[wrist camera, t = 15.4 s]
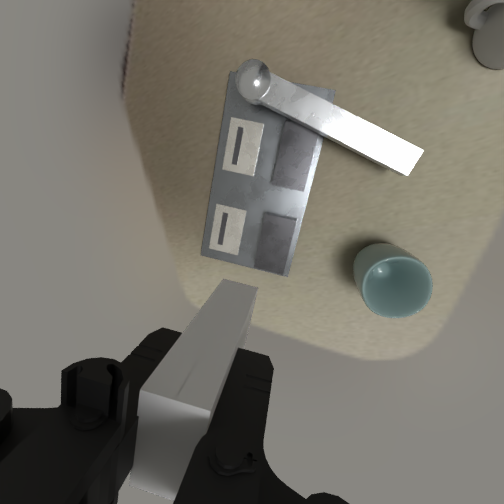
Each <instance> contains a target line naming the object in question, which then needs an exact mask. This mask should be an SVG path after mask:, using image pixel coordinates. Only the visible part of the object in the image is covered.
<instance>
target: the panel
mask: <svg viewBox="0 0 504 504" xmlns="http://www.w3.org/2000/svg"><path fill="white" fill-rule="evenodd" d="M236 73H237V72H232V71H230V76H229V82H228V88H227V95H226V101H225V107H224V113H223V119H222V126H221V132H220V138H219V144H218V150H217V157H216V163H215V169H214V175H213V182H212V188H211V194H210V200H209V206H208V213H207V219H206V225H205V231H204V238H203V244H202V250H201V255H202V256H206V257H210V258H214V259H218V260H222V261H226V262H230V263H234V264H238V265H242V266H246V267H250V268H254V269H258V270H262V271H266V272H270V273H274V274H278V275H282V276H286V277H288V274H289V270H290V266H291V262H292V258H293V254H294V250H295V247H296V243H297V239H298V235H299V231H300V227H301V223H302V219H303V215H304V212H305V208H306V204H307V200H308V196H309V192H310V188H311V184H312V180H313V177H314V173H315V169H316V165H317V161H318V157H319V153H320V149H321V146H322V142H323V138H324V136H322V135H320V134H318V133H316V132H314V131H312V130H310V129H308V128H307V127H305V126H303V125H301V124H299V123H297V122H295V121H293V120H291V119H289V118H287V117H285V116H283V115H281V114H279V113H277V112H275V111H273V110H271V109H269V108H267V107H265V106H264V105H262V104H258V105H253V104H250V103H248V102H247V101H246V100H245V99H244V98H243V97H242V95H241V94H240V93H239V91H238V90H237V87H236V83H235V77H236ZM290 83H292V84H294V85H296V86H298V87H300V88H302V89H304V90H306V91H308V92H310V93H312V94H314V95H316V96H318V97H320V98H322V99H324V100H326V101H328V102H330V103H333V99H334V95H335V91H336V90H331V89H326V88H320V87H315V86H309V85H304V84H298V83H293V82H290Z"/></svg>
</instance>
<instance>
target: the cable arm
mask: <svg viewBox="0 0 504 504" xmlns="http://www.w3.org/2000/svg"><path fill="white" fill-rule="evenodd" d="M235 83H236V87H237V90H238V91H239V93H240V94H241V95H242V97H243V98H244V99H245V100H246V101H247V102H248V103H250V104H253V105H258V104H262V105H264V106H265V107H267V108H269V109H271V110H273V111H275V112H277V113H279V114H281V115H283V116H285V117H287V118H289V119H291V120H293V121H295V122H297V123H299V124H301V125H303V126H305V127H307V128H308V129H310V130H312V131H314V132H316V133H318V134H320V135H322V136H324V137H326V138H328V139H330V140H332V141H334V142H336V143H338V144H340V145H342V146H344V147H346V148H348V149H349V150H351V151H353V152H355V153H357V154H359V155H361V156H363V157H365V158H367V159H369V160H371V161H373V162H375V163H377V164H379V165H381V166H383V167H385V168H387V169H389V170H391V171H392V172H394V173H396V174H398V175H400V176H408V174H409V173H410V171H411V169H412V168H413V166H414V165H415V163H416V162H417V160H418V159H419V157H420V156H421V154H422V152H423V151H424V150H422V149H420V148H418V147H416V146H414V145H412V144H410V143H409V142H407V141H405V140H403V139H401V138H399V137H397V136H395V135H393V134H391V133H389V132H387V131H385V130H383V129H381V128H379V127H377V126H375V125H373V124H371V123H369V122H367V121H365V120H363V119H361V118H359V117H357V116H355V115H353V114H351V113H349V112H347V111H346V110H344V109H342V108H340V107H338V106H336V105H334V104H332V103H330V102H328V101H326V100H324V99H322V98H320V97H318V96H316V95H314V94H312V93H310V92H308V91H306V90H304V89H302V88H300V87H298V86H296V85H294V84H292V83H290V82H288V81H286V80H284V79H283V78H281V77H279V76H277V75H275V74H273V73H271V72H269V69H268V67H267V66H266V65H265V64H264V63H263V62H262V61H260V60H257V59H251V60H248V61H246V62H244V63H243V64H242V65H241V66H240V67H239V69H238V70H237V73H236V77H235Z"/></svg>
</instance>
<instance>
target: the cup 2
mask: <svg viewBox="0 0 504 504" xmlns="http://www.w3.org/2000/svg"><path fill="white" fill-rule="evenodd" d="M493 4H494V5H493ZM491 5H493V6H491ZM489 6H491V7H490V8H489V9H488V10H487V12H486V11H483V10H484V9H486V8H487V7H489ZM464 22H465V23H466V25H467V26H469V27H471V28H474V29H475V31H474V35H473V45H472V46H473V50H474V54H475V56H476V58H477V59H478V61H479V62H480V63H482V64H483V65H484V66H486V67H489V68H491V69H504V0H472V1H471V2H470V3H469V5H468V6H467V8H466V9H465V12H464Z"/></svg>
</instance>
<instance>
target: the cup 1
mask: <svg viewBox="0 0 504 504" xmlns="http://www.w3.org/2000/svg"><path fill="white" fill-rule="evenodd" d="M353 276H354V281H355V283H356V286H357V289H358V291H359V293H360V295H361V297H362V299H363V301H364V302H365V304H366V306H367V307H368V308H369V309H370V310H371V311H372V312H374V313H376V314H377V315H380V316H383V317H388V318H402V317H407V316H411V315H413V314H415V313H417V312H419V311H420V310H422V309H423V308H424V307H425V306H426V304H427V303H428V301H429V299H430V297H431V294H432V287H433V285H432V278H431V274H430V272H429V270H428V269H427V267H426V266H425V265H424V264H423V263H422V262H421V261H420V260H419V259H418V258H416V257H415V256H414V255H412V254H411V253H409V252H407V251H406V250H404V249H402V248H401V247H398V246H395V245H392V244H387V243H376V244H372V245H369V246H366V247H365V248H363V249H362V250H360V251H359V252H358V254H357V255H356V257H355V259H354V263H353Z"/></svg>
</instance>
